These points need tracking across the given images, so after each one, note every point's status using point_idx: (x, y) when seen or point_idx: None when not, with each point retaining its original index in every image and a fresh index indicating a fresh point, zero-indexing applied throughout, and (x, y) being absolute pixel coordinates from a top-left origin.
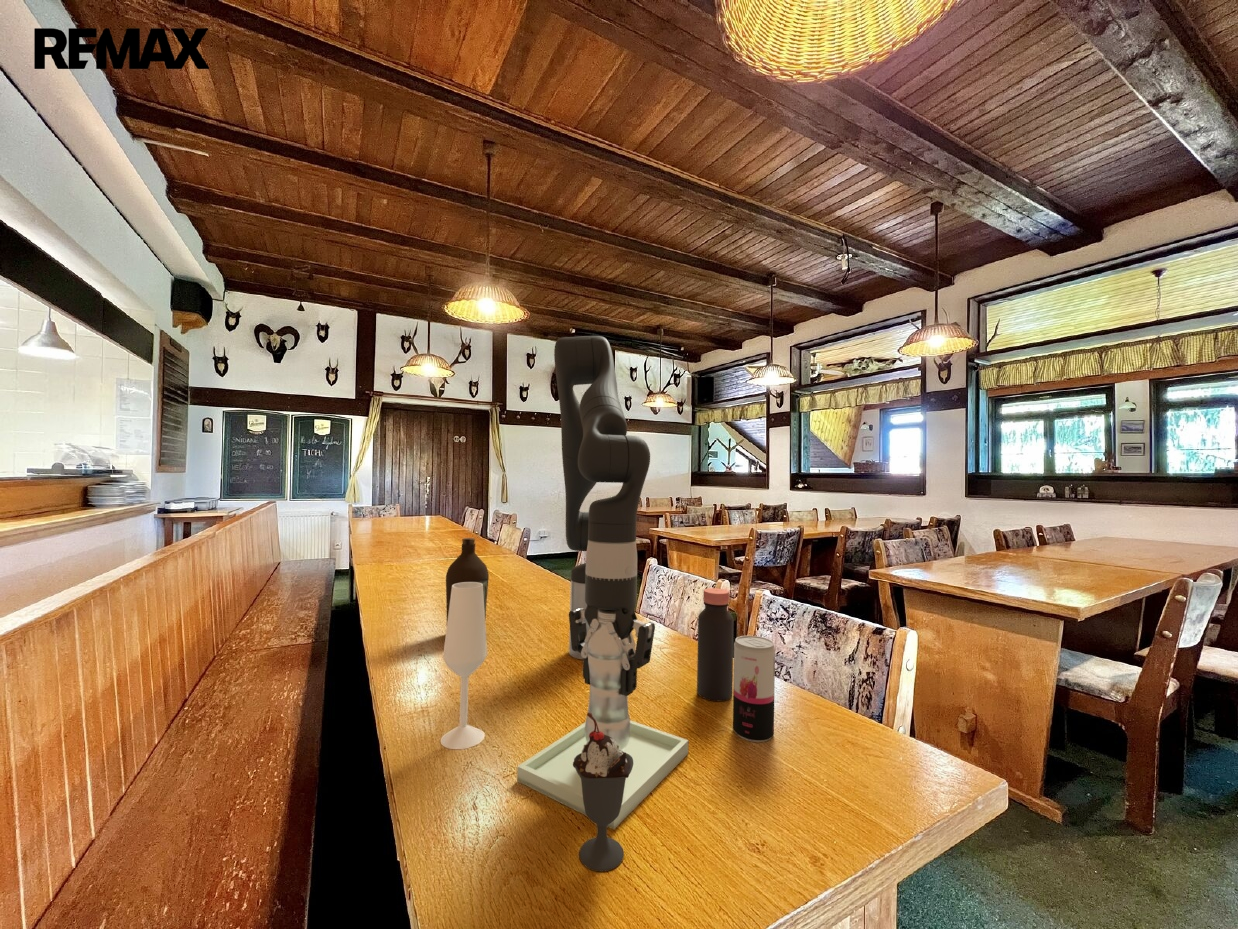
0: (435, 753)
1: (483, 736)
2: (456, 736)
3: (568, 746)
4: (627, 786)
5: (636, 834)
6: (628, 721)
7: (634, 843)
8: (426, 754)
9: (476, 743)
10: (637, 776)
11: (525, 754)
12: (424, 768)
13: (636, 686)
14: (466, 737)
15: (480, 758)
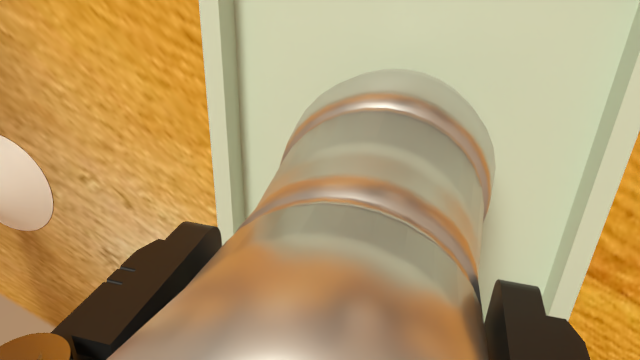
0: (31, 254)
1: (28, 159)
2: (4, 218)
3: (238, 104)
4: (523, 207)
5: (608, 328)
6: (488, 186)
7: (612, 351)
8: (24, 263)
9: (47, 192)
10: (536, 147)
11: (167, 173)
12: (68, 298)
13: (583, 342)
14: (20, 208)
15: (107, 232)
